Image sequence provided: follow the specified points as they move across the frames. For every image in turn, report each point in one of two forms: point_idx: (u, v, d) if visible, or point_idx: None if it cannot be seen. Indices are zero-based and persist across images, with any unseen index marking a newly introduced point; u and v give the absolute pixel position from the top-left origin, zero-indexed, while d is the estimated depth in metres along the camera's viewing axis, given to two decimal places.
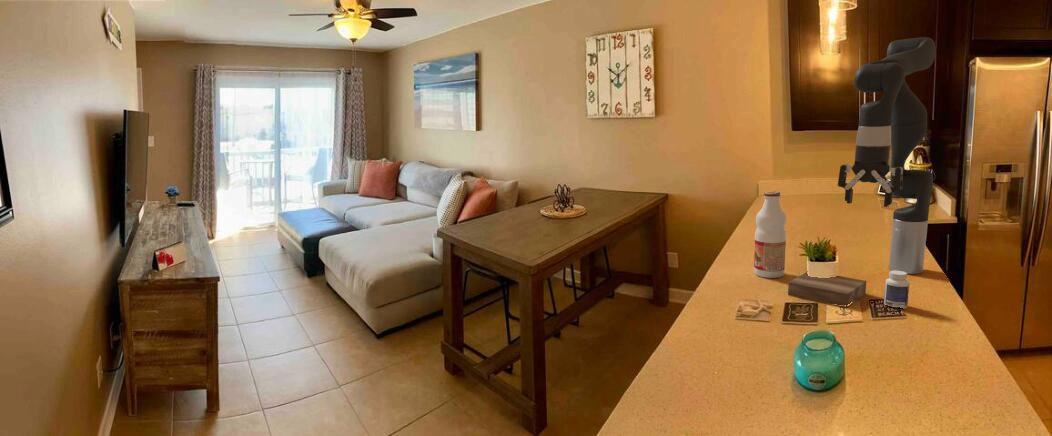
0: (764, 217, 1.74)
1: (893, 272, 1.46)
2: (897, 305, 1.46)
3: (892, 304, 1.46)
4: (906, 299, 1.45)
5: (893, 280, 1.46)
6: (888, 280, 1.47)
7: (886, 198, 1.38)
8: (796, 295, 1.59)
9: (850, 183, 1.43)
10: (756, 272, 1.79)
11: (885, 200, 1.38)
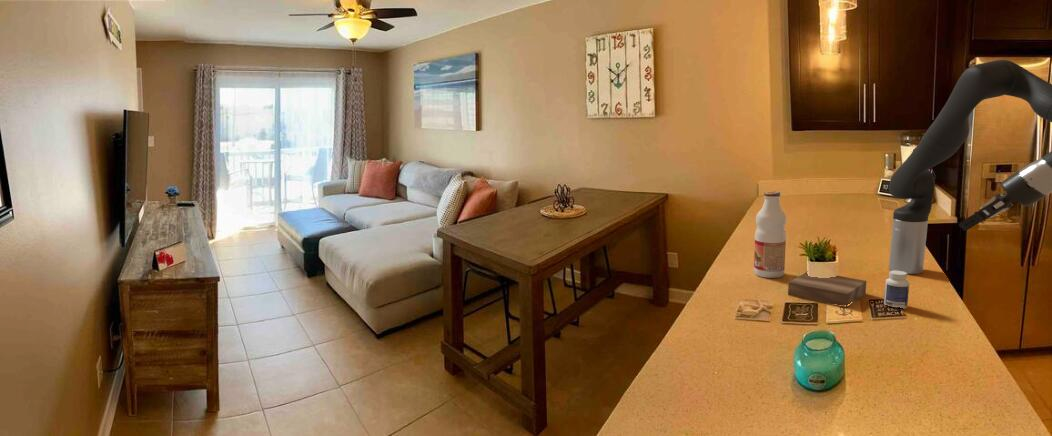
0: (764, 217, 1.74)
1: (893, 272, 1.46)
2: (897, 305, 1.46)
3: (892, 304, 1.46)
4: (906, 299, 1.45)
5: (893, 280, 1.46)
6: (888, 280, 1.47)
7: None
8: (796, 295, 1.59)
9: (988, 217, 1.26)
10: (756, 272, 1.79)
11: None
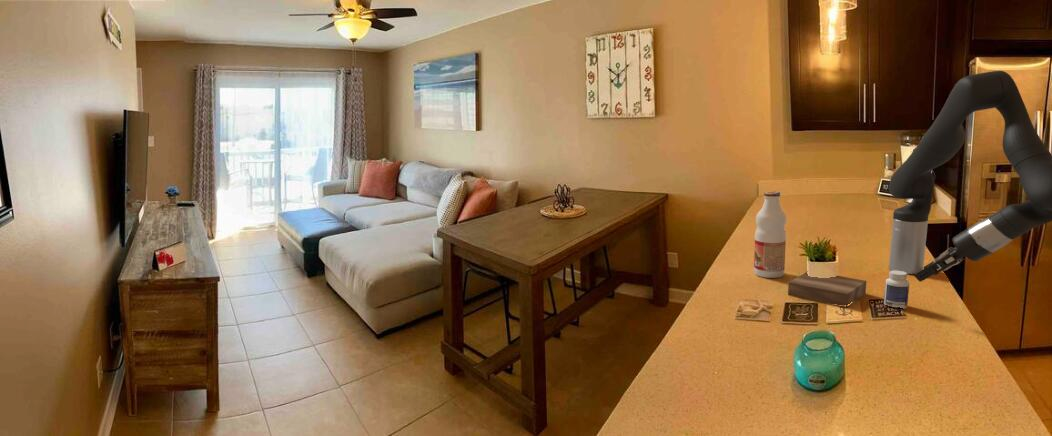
0: (764, 217, 1.74)
1: (893, 272, 1.46)
2: (897, 305, 1.46)
3: (892, 304, 1.46)
4: (906, 299, 1.45)
5: (893, 280, 1.46)
6: (888, 280, 1.47)
7: None
8: (796, 295, 1.59)
9: None
10: (756, 272, 1.79)
11: None
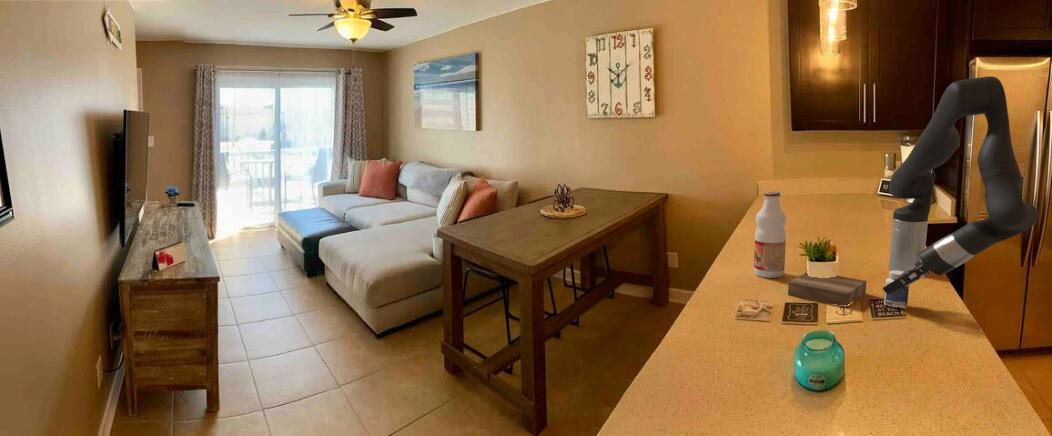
0: (764, 217, 1.74)
1: (893, 272, 1.46)
2: (897, 305, 1.46)
3: (892, 304, 1.46)
4: (906, 299, 1.45)
5: (893, 279, 1.46)
6: (888, 280, 1.47)
7: None
8: (796, 295, 1.59)
9: None
10: (756, 272, 1.79)
11: None
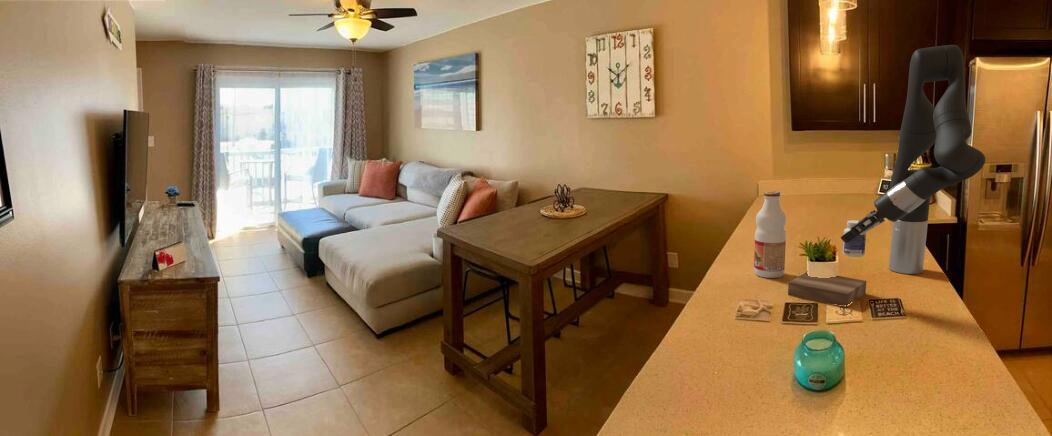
0: (764, 217, 1.74)
1: (850, 221, 1.51)
2: (854, 253, 1.50)
3: (850, 252, 1.51)
4: (863, 247, 1.50)
5: None
6: (846, 229, 1.52)
7: None
8: (796, 295, 1.59)
9: (863, 231, 1.47)
10: (756, 272, 1.79)
11: None
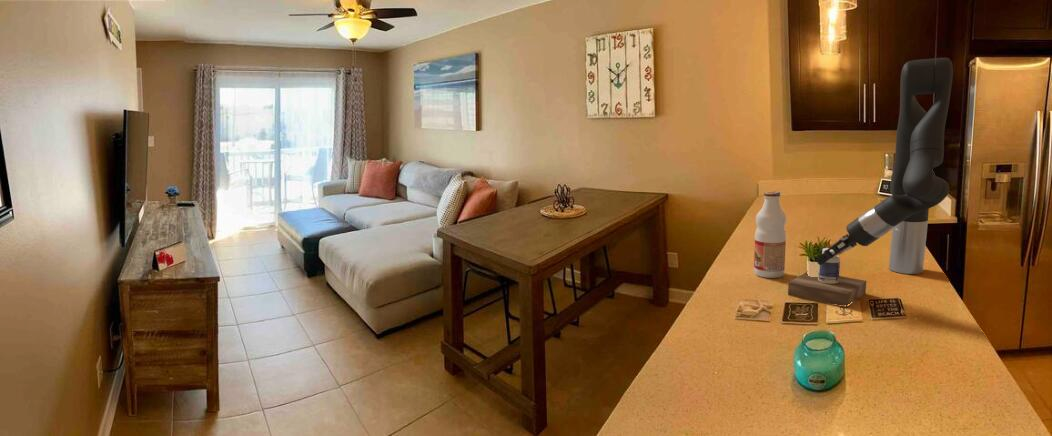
0: (764, 217, 1.74)
1: (825, 249, 1.57)
2: (829, 280, 1.56)
3: (824, 279, 1.57)
4: (837, 274, 1.56)
5: None
6: None
7: None
8: (796, 295, 1.59)
9: (836, 254, 1.52)
10: (756, 272, 1.79)
11: None
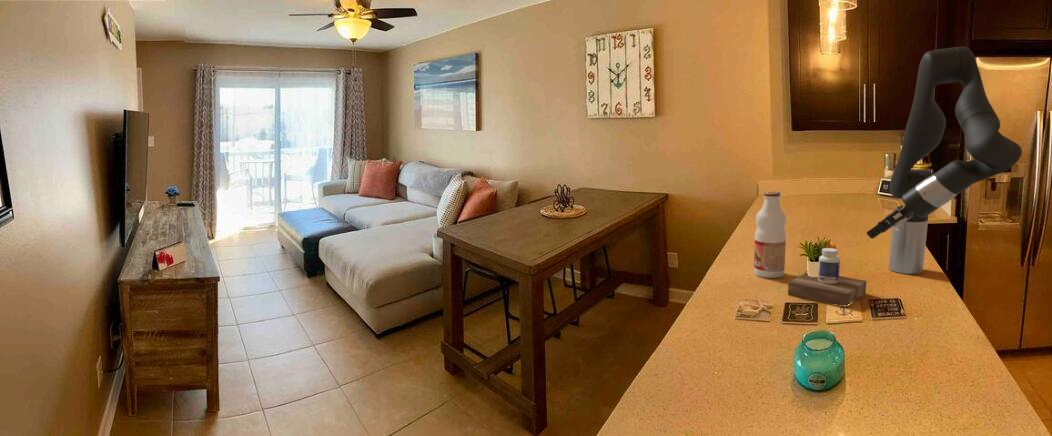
0: (764, 217, 1.74)
1: (825, 249, 1.57)
2: (829, 280, 1.56)
3: (824, 279, 1.57)
4: (837, 274, 1.56)
5: (825, 256, 1.56)
6: (821, 257, 1.58)
7: None
8: (796, 295, 1.59)
9: (891, 226, 1.40)
10: (756, 272, 1.79)
11: None
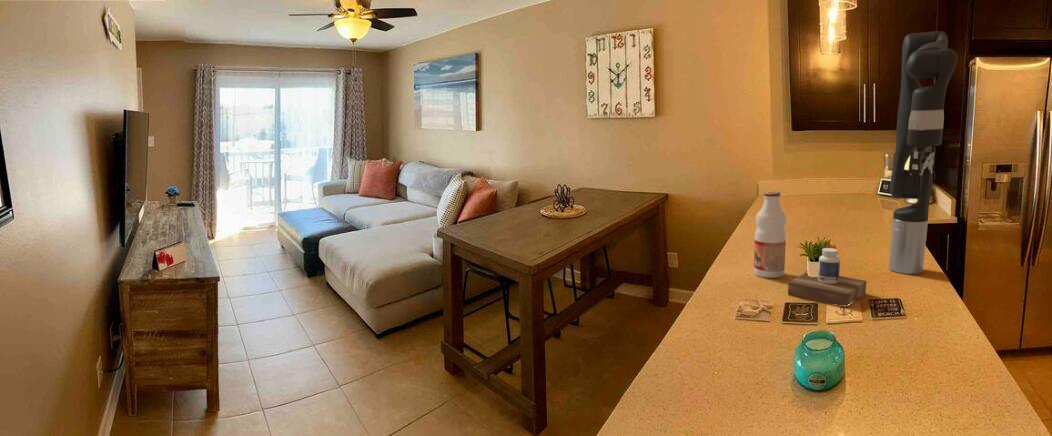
0: (764, 217, 1.74)
1: (825, 249, 1.57)
2: (829, 280, 1.56)
3: (824, 279, 1.57)
4: (837, 274, 1.56)
5: (825, 256, 1.56)
6: (821, 257, 1.58)
7: (929, 177, 1.48)
8: (796, 295, 1.59)
9: (922, 168, 1.42)
10: (756, 272, 1.79)
11: (929, 179, 1.48)
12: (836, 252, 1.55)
